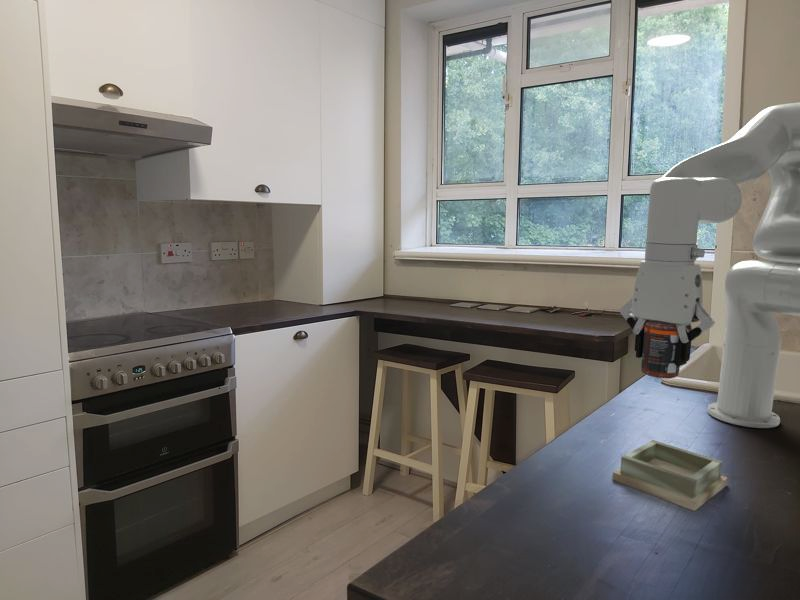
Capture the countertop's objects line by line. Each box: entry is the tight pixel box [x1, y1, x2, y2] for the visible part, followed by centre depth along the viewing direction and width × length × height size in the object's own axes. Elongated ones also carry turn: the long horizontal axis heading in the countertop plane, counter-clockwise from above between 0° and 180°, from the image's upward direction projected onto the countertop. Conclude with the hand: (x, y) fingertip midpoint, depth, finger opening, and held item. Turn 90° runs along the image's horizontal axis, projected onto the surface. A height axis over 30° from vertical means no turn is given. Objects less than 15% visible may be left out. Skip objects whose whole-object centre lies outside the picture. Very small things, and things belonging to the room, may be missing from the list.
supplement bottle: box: [641, 320, 681, 379], centre depth 99 cm, size 6×6×11 cm
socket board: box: [611, 439, 729, 512], centre depth 88 cm, size 12×12×4 cm
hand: (660, 359), depth 99 cm, fingers closed on supplement bottle, 6 cm apart
